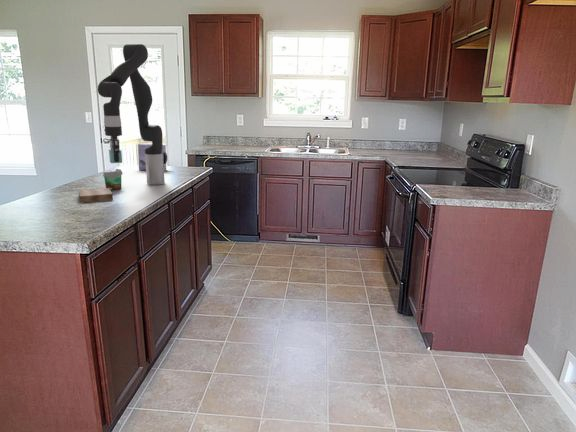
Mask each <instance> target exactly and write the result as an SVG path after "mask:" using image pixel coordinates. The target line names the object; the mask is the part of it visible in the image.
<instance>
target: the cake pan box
mask: <svg viewBox="0 0 576 432" xmlns="http://www.w3.org/2000/svg"><path fill="white" fill-rule="evenodd" d="M151 146H152V143H138V144H137V152H138V153H137V157H138V170H140V171H141V170H142V171H146V161H145V149H146V148H149V147H151ZM166 148H167V145H166V144H163V147H162V163H163V167H164V170H165V171H167V163H168V162H167V161H168V154H167V152H166V151H167V149H166Z"/></svg>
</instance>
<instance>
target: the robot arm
mask: <svg viewBox="0 0 576 432" xmlns="http://www.w3.org/2000/svg"><path fill="white" fill-rule="evenodd" d="M122 55H123V59H124V62H122V63H120V64H119V65H117V66H116V67H115V68H114V70H113V71H112V72H111V74H110V75H108V76H107V77H104V78H103V79H102V80H101V81H100V82H99V83H98V85H97V92H98V93H97V94H98V95H100V97H101V98H110V100H109V102H105V103H103V106H102V107H103V109H102V110H103V115H104V116H103V125H104V135H105V136H107V137H110V138H109V139H108V140H109V147H110V150H113V154H114V161H115V162H119V153H120V151H119V149H120V140H119V139H118V137H121V136H123V131H122V120H121V114H120V113H121V111H120V107H121V106H120V105H121V99H122V96H123V89H122V87H123V86H124V85H125V84H126V82H128V79H129V80H130V84H131V90H132V95H133V100H134V104H135V107H136V112H137V117H138V118H137V120H138V127H139V133H140V137H141V139H142V140H143V141H144V142H151V144H152V146H151V147H149V148H146V149H145V161H146V170H145V172H146V175H145V176H146V184H147V185H151V186H159V185H164V184H165V171H164V167H163V163H162V147H163V145H164V144H163V130H162V127H161V125H158V124H149V117H148V116H149V112H150V109H151V108H152V107H151V106H152V105H153V95H152V90H151V87H150V85H149V84H148V83H147V81H146V80H145V78H144V77H143V76H142V75H141V73H140V72H139V68H140V67H141V66H142V65H143V64H145V62H147V60H148V58H149V57H148V56H149V52H148V49H147V47H146V46H145V45H144V44H142V43H126V44H124V45H123V48H122ZM115 149H117V151H115Z"/></svg>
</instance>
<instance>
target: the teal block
mask: <svg viewBox="0 0 576 432" xmlns="http://www.w3.org/2000/svg"><path fill="white" fill-rule="evenodd" d="M115 151H117V149H115ZM119 151H120V153H119V162H115V161H114V154H113V150H111V149H108V155H109V156H108V158H109V163H110V164H122V163H123V155H122V150H121V149H120V148H119Z"/></svg>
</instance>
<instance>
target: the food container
mask: <svg viewBox="0 0 576 432" xmlns="http://www.w3.org/2000/svg"><path fill="white" fill-rule="evenodd" d="M122 175H124V174H123V171H122V169H118V168H117V169H115V170H113V171H109V172H105V171H104V172H103V175H102V177H103V178H104V184H105V189H107V188H109V189H110V191H111V192H113V191H120V190H122Z"/></svg>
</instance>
